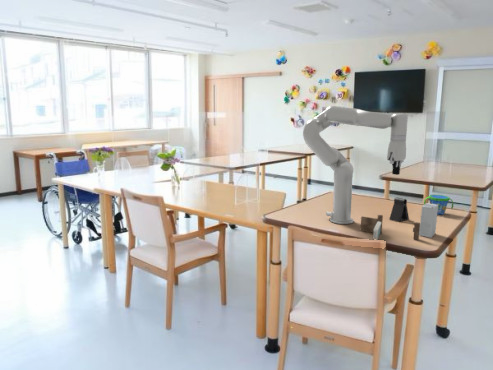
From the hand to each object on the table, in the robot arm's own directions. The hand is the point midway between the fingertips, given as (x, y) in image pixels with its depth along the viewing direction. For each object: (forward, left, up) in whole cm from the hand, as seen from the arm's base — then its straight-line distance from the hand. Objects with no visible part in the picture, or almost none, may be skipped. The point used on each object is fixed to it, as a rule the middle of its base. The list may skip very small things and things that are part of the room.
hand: (395, 174), depth 213 cm
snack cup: (+15, +39, -27) cm, 50 cm away
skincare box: (+19, -7, -27) cm, 34 cm away
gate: (0, -26, -27) cm, 38 cm away
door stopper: (0, +13, -27) cm, 30 cm away
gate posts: (+3, -17, -27) cm, 32 cm away
